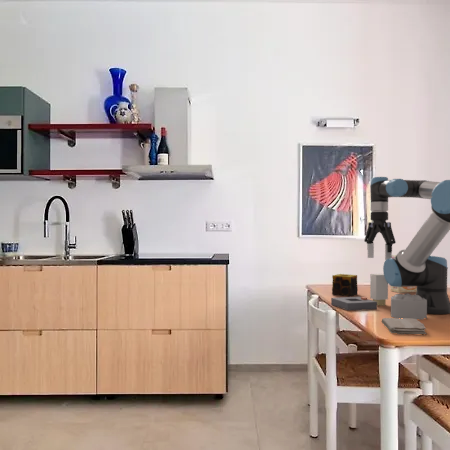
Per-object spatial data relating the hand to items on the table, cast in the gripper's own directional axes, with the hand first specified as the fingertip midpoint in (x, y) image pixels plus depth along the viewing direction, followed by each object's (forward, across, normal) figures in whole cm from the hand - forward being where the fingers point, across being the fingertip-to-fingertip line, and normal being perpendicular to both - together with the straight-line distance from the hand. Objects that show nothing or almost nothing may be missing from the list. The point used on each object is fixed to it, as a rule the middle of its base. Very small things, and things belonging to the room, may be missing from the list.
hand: (379, 258), depth 203 cm
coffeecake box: (+21, +32, -38) cm, 54 cm away
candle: (+21, +30, 0) cm, 37 cm away
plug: (+21, 0, -1) cm, 21 cm away
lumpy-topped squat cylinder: (+21, -26, +4) cm, 34 cm away
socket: (+21, -2, +14) cm, 25 cm away
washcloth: (+22, -43, +19) cm, 52 cm away
